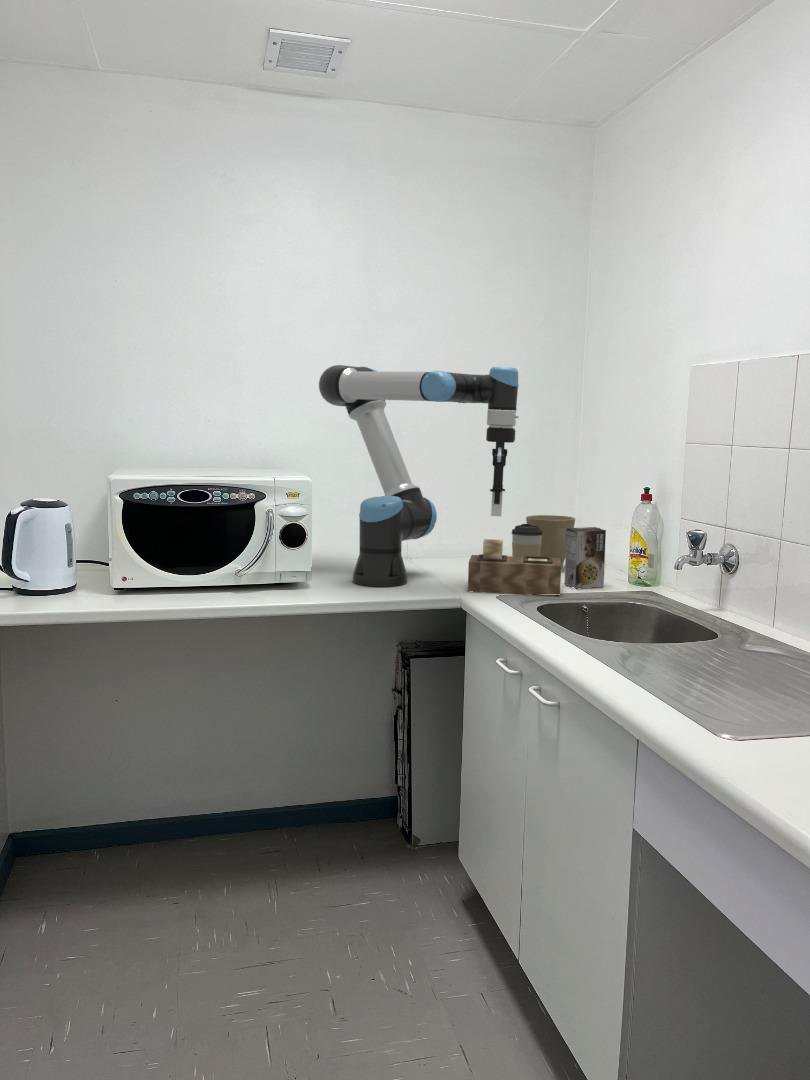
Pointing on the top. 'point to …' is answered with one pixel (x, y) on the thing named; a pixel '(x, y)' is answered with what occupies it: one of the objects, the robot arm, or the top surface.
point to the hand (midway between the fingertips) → (496, 515)
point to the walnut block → (514, 575)
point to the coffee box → (585, 557)
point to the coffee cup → (526, 540)
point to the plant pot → (552, 534)
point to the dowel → (492, 549)
